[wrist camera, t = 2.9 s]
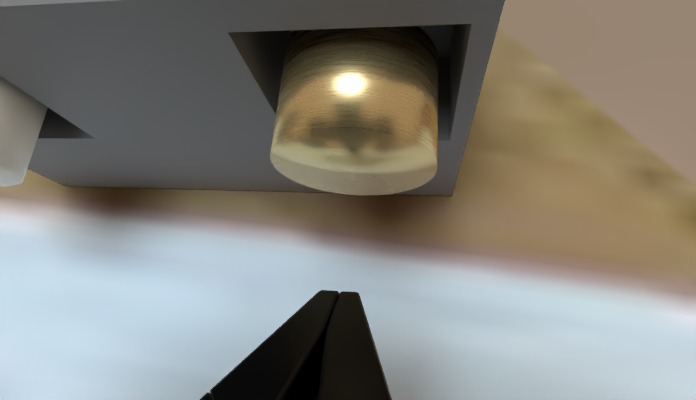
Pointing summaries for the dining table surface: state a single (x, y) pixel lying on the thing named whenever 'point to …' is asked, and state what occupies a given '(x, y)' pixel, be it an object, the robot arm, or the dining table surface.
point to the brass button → (358, 110)
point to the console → (208, 83)
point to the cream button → (17, 131)
